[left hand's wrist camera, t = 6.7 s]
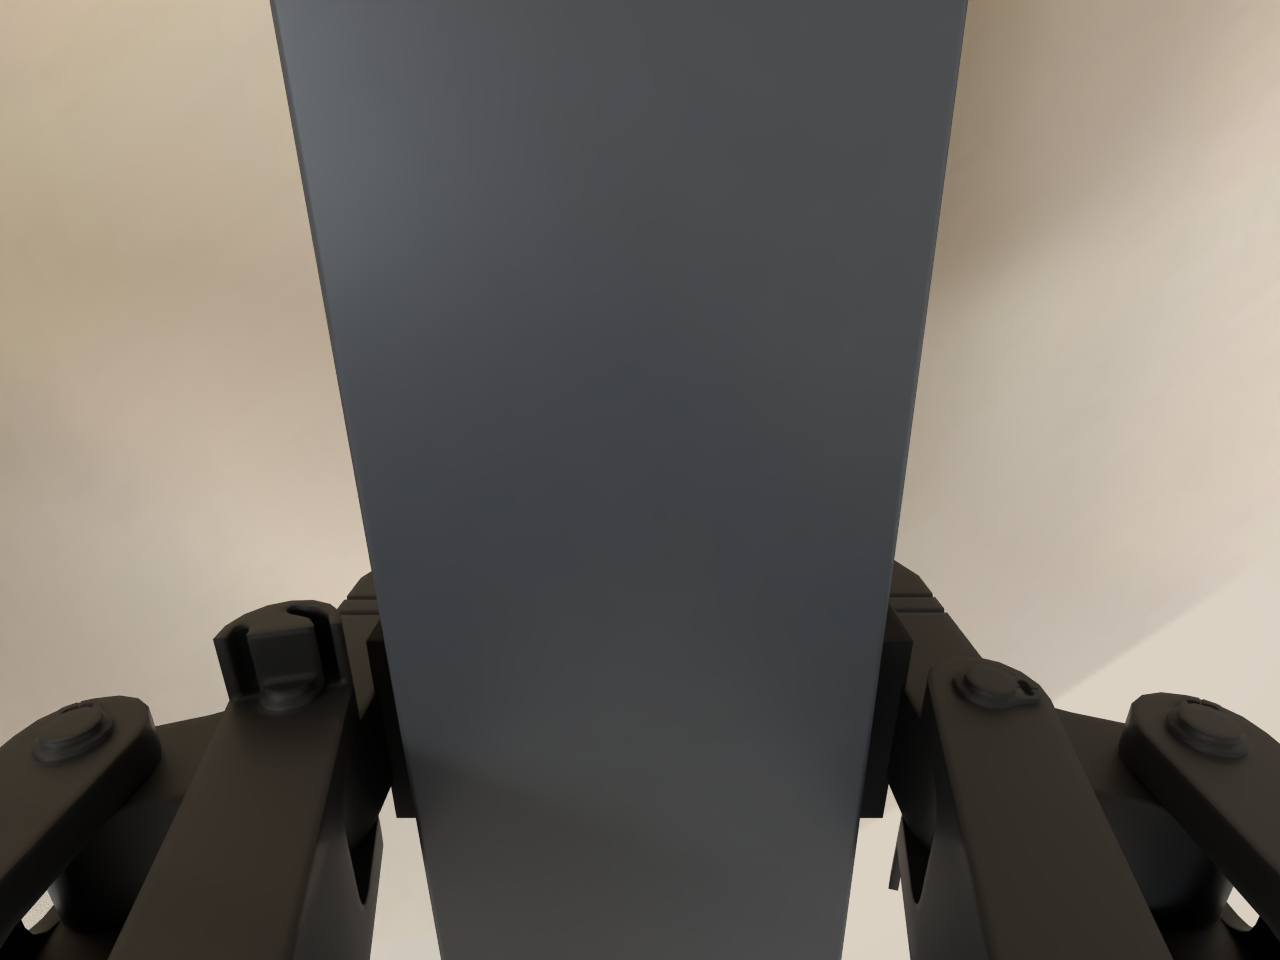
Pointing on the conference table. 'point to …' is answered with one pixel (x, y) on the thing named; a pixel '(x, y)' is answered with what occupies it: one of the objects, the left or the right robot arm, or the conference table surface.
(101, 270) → the conference table surface
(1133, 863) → the left robot arm
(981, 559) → the conference table surface
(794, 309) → the post
